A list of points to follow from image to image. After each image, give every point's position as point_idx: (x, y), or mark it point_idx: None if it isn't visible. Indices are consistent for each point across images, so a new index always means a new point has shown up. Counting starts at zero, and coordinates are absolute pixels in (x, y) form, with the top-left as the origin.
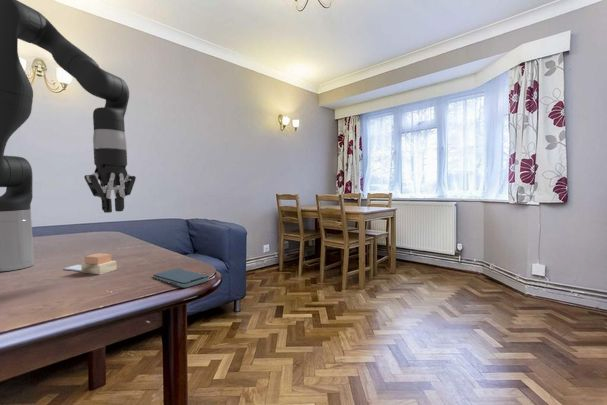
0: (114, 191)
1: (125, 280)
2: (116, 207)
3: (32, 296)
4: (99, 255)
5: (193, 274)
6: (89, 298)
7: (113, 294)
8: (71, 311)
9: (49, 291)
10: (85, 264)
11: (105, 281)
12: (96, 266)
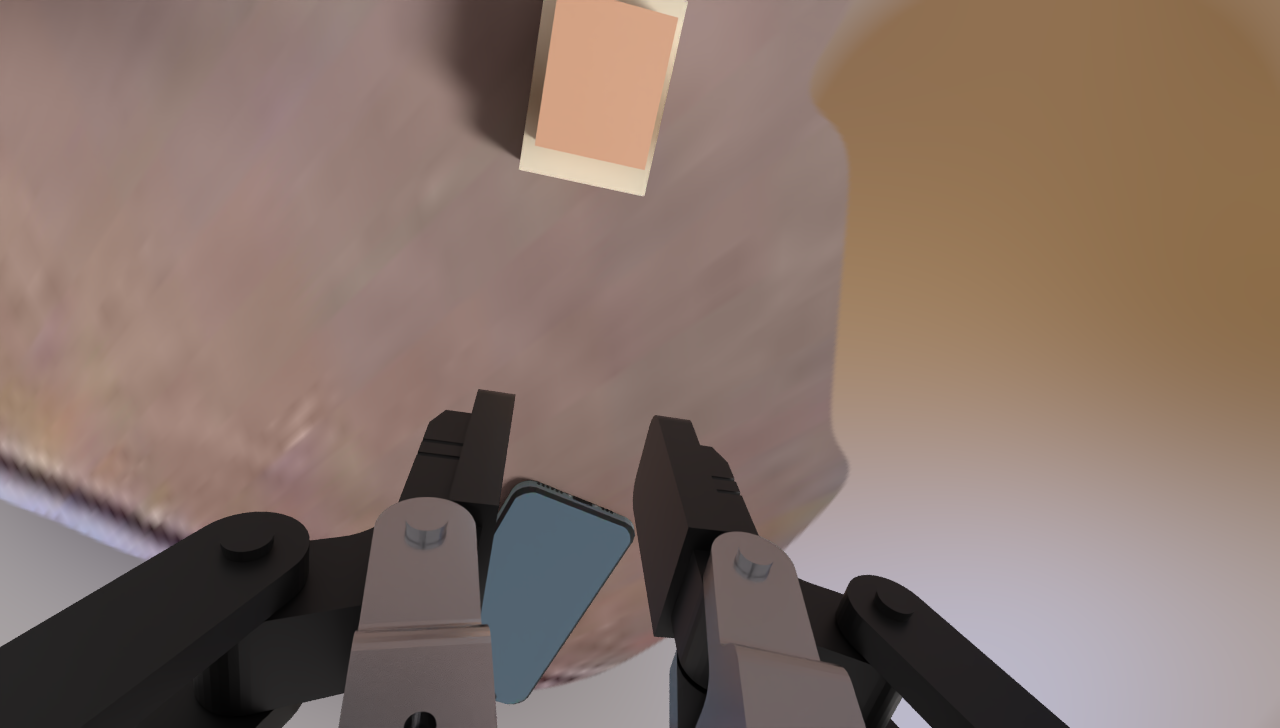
0: (712, 636)
1: (453, 387)
2: (657, 457)
3: (94, 92)
4: (597, 103)
5: (534, 647)
6: (197, 410)
7: (272, 469)
8: (65, 451)
9: (188, 117)
10: (541, 15)
11: (416, 298)
12: (524, 137)
